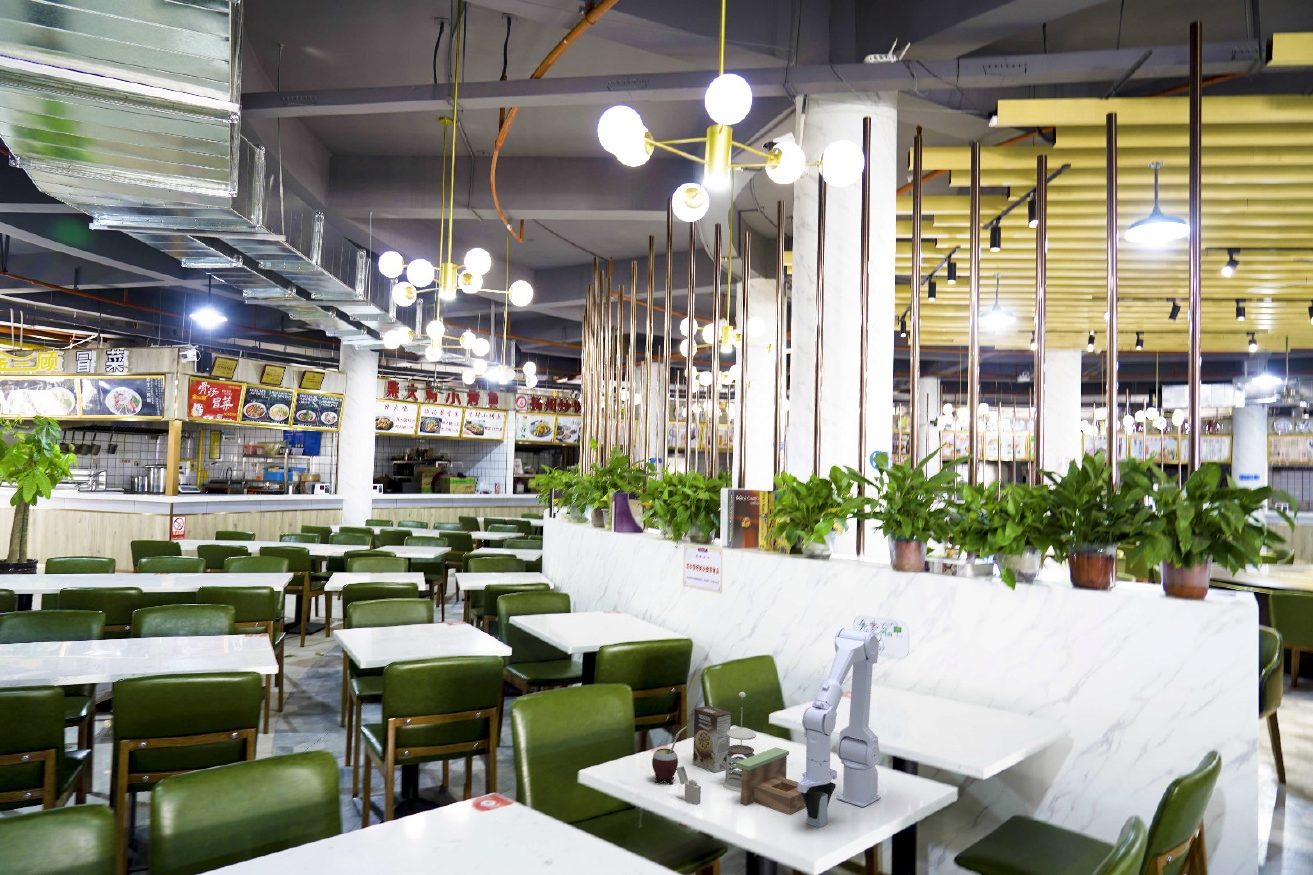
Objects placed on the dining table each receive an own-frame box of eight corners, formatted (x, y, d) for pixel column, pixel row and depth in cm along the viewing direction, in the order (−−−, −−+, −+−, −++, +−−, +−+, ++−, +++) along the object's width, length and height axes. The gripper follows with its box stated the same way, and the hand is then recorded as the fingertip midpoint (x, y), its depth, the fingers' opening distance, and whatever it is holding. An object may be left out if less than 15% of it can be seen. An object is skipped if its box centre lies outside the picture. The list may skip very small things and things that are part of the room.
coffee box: (691, 764, 240) (693, 708, 241) (707, 760, 244) (708, 704, 245) (714, 773, 233) (716, 715, 234) (730, 768, 238) (731, 711, 239)
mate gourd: (646, 779, 227) (648, 724, 228) (668, 774, 232) (670, 719, 233) (663, 788, 221) (665, 731, 222) (686, 782, 226) (687, 726, 227)
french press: (756, 793, 219) (758, 697, 220) (713, 789, 221) (715, 694, 223) (759, 780, 229) (761, 689, 230) (717, 776, 231) (720, 685, 232)
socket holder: (775, 784, 226) (776, 747, 226) (821, 799, 216) (822, 760, 217) (734, 801, 213) (735, 762, 213) (781, 818, 203) (782, 777, 203)
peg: (814, 819, 203) (815, 790, 204) (827, 823, 201) (827, 794, 201) (806, 823, 201) (807, 793, 201) (819, 827, 198) (819, 797, 199)
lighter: (700, 803, 211) (701, 771, 212) (696, 805, 210) (697, 772, 211) (679, 795, 216) (680, 764, 217) (675, 797, 215) (676, 765, 215)
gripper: (820, 747, 210) (819, 802, 209) (787, 760, 199) (786, 818, 198) (844, 754, 205) (843, 810, 204) (812, 768, 194) (811, 827, 193)
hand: (817, 815), depth 201 cm, fingers closed on peg, 3 cm apart
